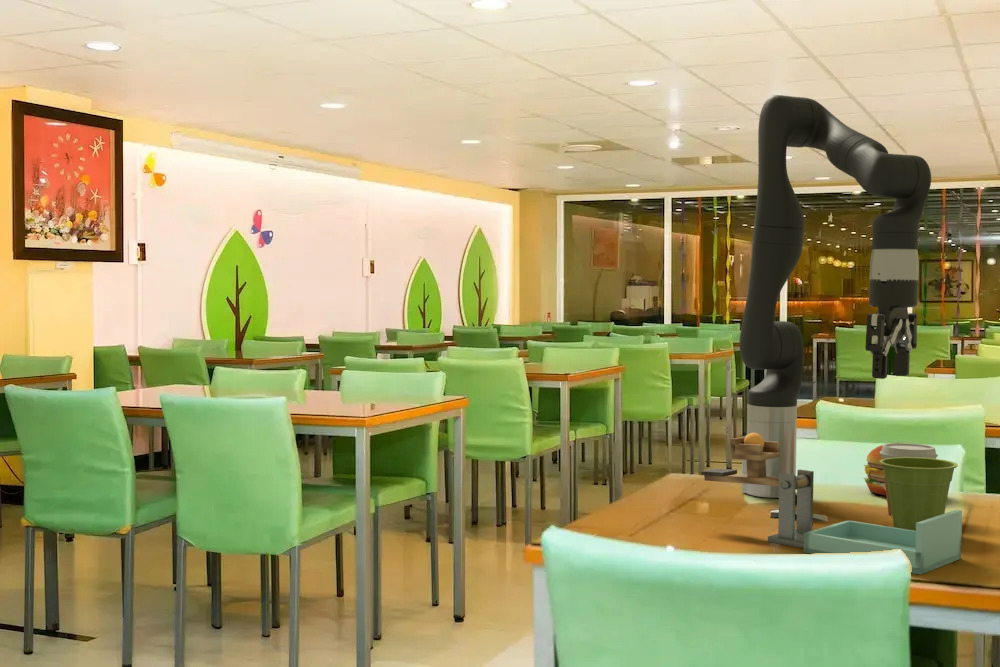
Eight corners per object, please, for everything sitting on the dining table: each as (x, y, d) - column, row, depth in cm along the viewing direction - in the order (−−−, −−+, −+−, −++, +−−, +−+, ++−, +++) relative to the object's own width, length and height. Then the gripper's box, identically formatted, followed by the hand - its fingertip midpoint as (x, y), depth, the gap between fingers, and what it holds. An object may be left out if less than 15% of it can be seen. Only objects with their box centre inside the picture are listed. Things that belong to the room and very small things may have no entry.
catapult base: (828, 540, 170) (830, 472, 170) (802, 548, 165) (804, 478, 164) (794, 534, 175) (795, 467, 174) (767, 541, 169) (768, 473, 169)
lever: (812, 487, 171) (810, 438, 171) (792, 491, 167) (790, 441, 167) (719, 480, 183) (717, 434, 183) (699, 484, 179) (697, 437, 179)
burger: (851, 494, 211) (852, 443, 211) (879, 486, 222) (880, 436, 221) (922, 503, 202) (923, 450, 202) (947, 494, 213) (948, 443, 212)
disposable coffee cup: (941, 521, 186) (942, 451, 186) (882, 518, 188) (883, 449, 187) (931, 510, 195) (932, 443, 195) (875, 508, 197) (876, 442, 197)
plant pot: (876, 521, 185) (878, 455, 185) (952, 526, 182) (953, 458, 182) (879, 535, 174) (881, 465, 174) (960, 541, 171) (961, 469, 170)
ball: (741, 454, 175) (738, 434, 175) (752, 452, 177) (749, 433, 177) (758, 453, 173) (755, 432, 173) (769, 451, 175) (766, 431, 175)
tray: (803, 553, 162) (804, 505, 161) (847, 539, 171) (848, 494, 171) (920, 574, 149) (921, 523, 149) (960, 558, 159) (962, 510, 159)
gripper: (890, 278, 186) (887, 373, 187) (852, 276, 176) (849, 377, 176) (934, 278, 181) (930, 376, 182) (898, 277, 171) (894, 381, 171)
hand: (890, 377), depth 179 cm, fingers open, 8 cm apart
